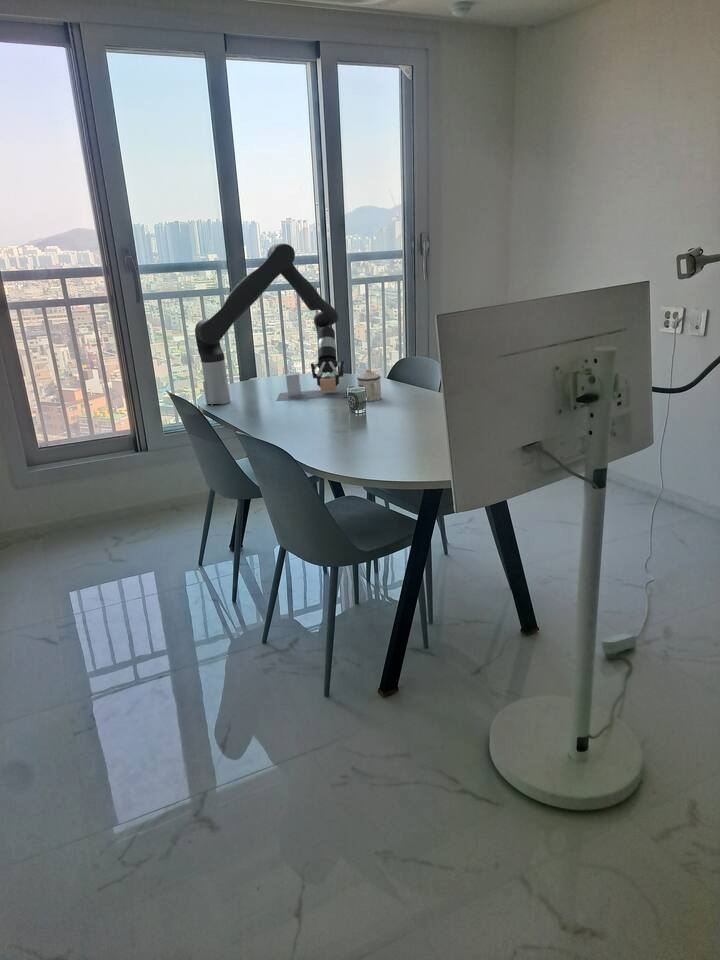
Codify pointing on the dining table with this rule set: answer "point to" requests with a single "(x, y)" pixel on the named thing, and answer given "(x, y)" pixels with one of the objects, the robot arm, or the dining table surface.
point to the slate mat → (314, 395)
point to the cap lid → (328, 383)
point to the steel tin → (293, 384)
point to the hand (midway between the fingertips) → (328, 385)
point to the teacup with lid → (370, 384)
